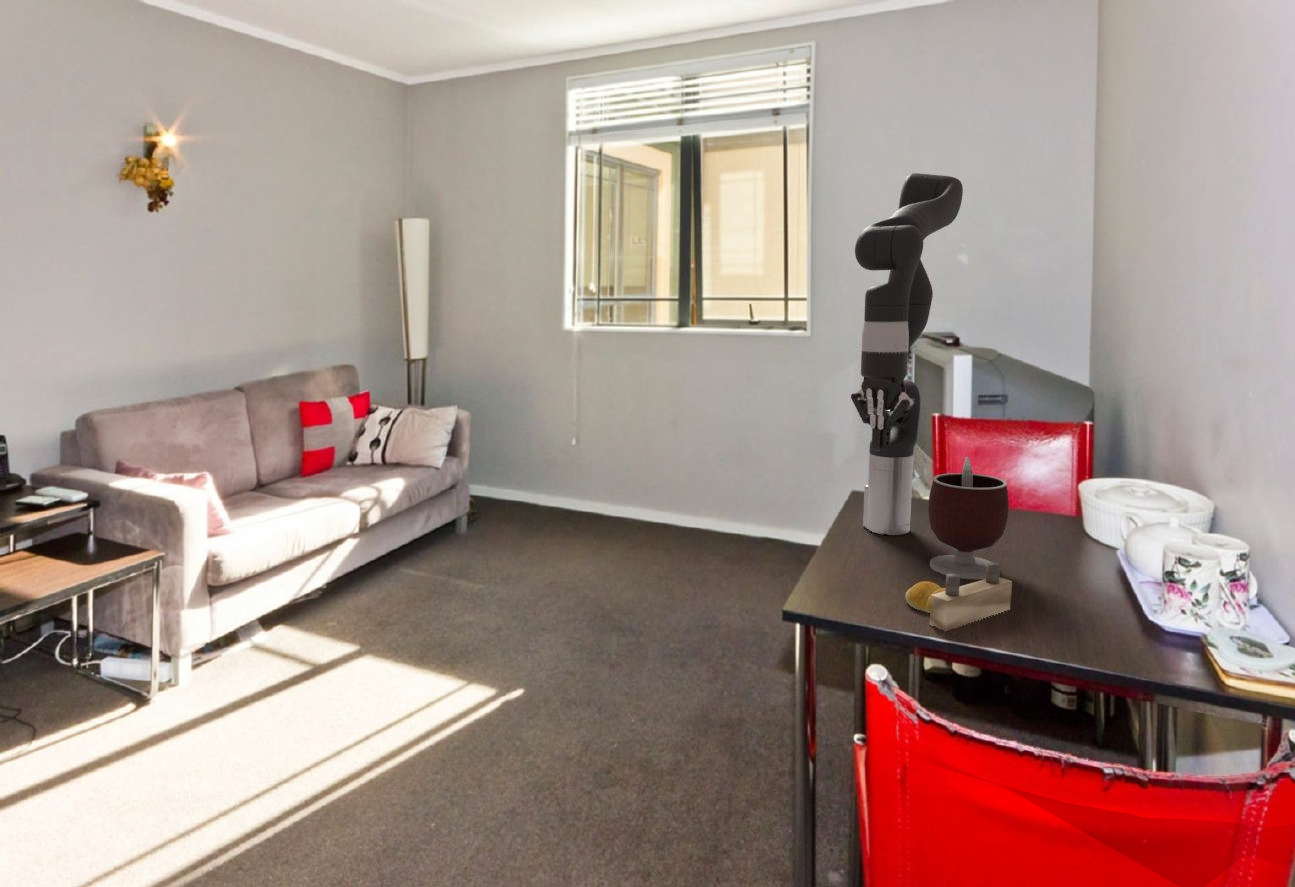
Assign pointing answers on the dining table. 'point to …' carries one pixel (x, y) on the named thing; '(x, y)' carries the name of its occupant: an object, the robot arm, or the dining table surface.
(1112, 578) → the dining table surface
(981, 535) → the mate gourd
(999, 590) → the bar
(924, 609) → the bread roll
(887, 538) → the dining table surface
